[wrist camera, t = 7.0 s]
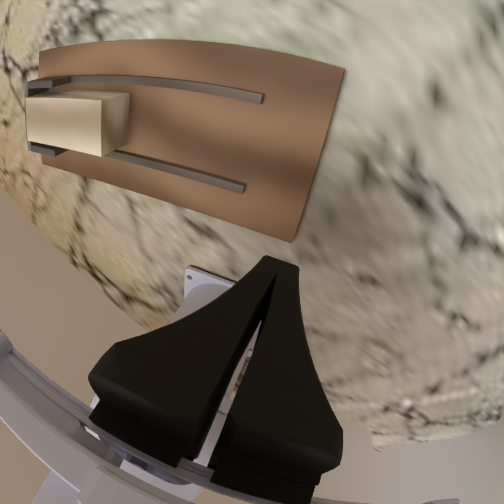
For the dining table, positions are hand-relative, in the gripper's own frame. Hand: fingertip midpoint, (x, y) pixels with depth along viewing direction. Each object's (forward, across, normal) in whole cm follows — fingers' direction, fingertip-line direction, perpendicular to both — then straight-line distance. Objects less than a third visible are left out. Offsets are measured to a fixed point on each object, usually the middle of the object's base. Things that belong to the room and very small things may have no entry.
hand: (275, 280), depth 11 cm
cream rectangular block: (+9, +19, -2) cm, 21 cm away
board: (+9, +13, -2) cm, 16 cm away
